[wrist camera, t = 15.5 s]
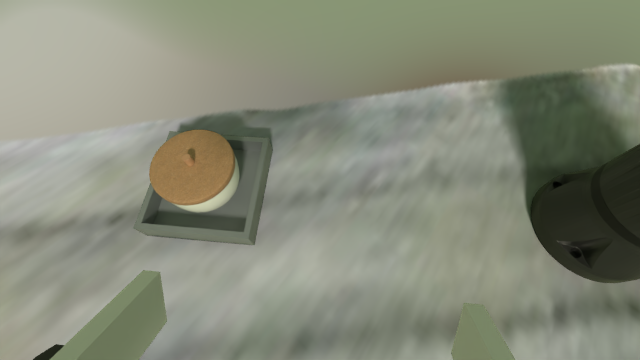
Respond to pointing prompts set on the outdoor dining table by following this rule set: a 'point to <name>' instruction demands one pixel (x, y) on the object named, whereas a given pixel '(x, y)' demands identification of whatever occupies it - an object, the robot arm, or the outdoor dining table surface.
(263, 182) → the bin
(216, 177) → the lidded jar
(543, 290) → the outdoor dining table surface
